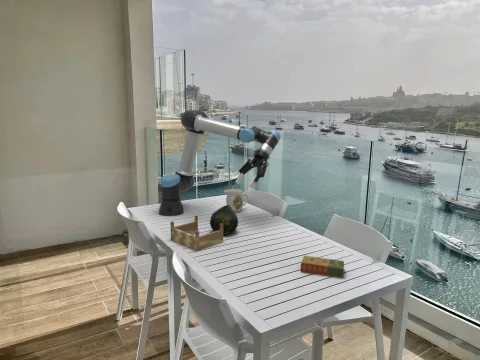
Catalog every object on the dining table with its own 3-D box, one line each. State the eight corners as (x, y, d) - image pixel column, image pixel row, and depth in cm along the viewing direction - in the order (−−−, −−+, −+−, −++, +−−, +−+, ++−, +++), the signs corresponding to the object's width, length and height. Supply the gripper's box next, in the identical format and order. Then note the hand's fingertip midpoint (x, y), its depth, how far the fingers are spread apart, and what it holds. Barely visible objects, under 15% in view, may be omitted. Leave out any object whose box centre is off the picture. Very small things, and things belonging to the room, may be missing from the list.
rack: (170, 239, 171) (170, 221, 169) (196, 232, 182) (196, 215, 181) (197, 250, 157) (197, 231, 156) (223, 241, 168) (223, 223, 167)
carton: (303, 264, 144) (303, 254, 144) (343, 270, 139) (344, 260, 139) (300, 272, 137) (300, 262, 136) (343, 279, 132) (343, 268, 131)
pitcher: (252, 210, 224) (252, 189, 221) (228, 214, 214) (228, 192, 212) (243, 206, 233) (243, 186, 230) (219, 210, 223) (219, 189, 221)
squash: (203, 226, 174) (223, 204, 173) (206, 218, 189) (225, 198, 187) (224, 244, 175) (244, 223, 174) (226, 235, 190) (244, 216, 188)
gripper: (281, 159, 192) (262, 192, 183) (251, 156, 207) (232, 186, 199) (276, 150, 187) (256, 183, 179) (245, 147, 202) (226, 178, 194)
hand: (243, 184), depth 189 cm, fingers open, 10 cm apart
